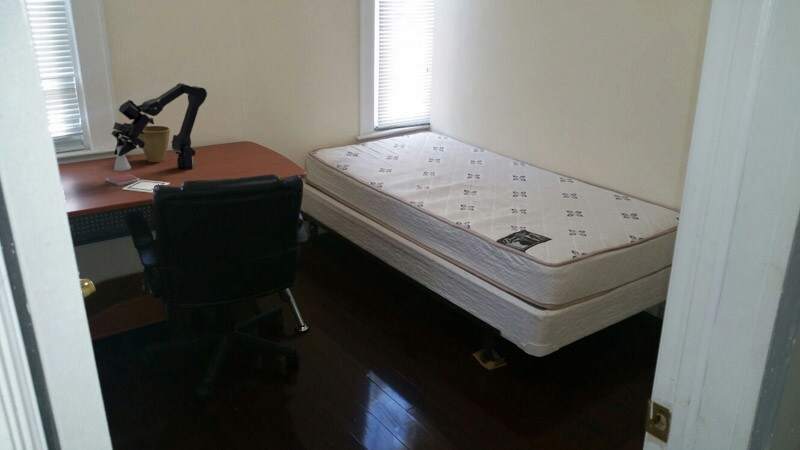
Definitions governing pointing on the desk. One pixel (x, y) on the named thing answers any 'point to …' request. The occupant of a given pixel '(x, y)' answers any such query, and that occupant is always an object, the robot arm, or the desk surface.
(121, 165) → the flask
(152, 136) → the plant pot
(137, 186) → the marked board
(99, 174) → the desk surface
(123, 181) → the ink pad
